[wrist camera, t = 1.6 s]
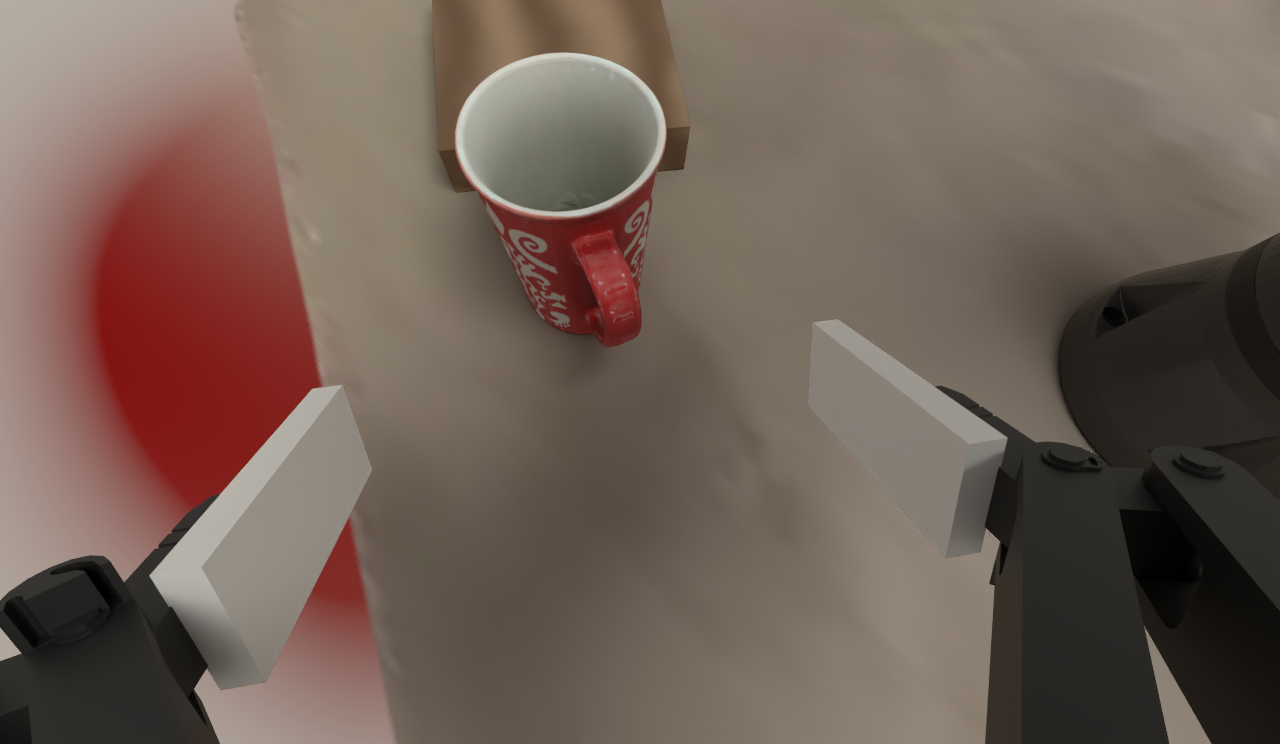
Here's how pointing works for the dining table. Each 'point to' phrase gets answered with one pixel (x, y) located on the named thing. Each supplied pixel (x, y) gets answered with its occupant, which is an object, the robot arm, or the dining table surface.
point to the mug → (568, 183)
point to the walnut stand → (551, 23)
